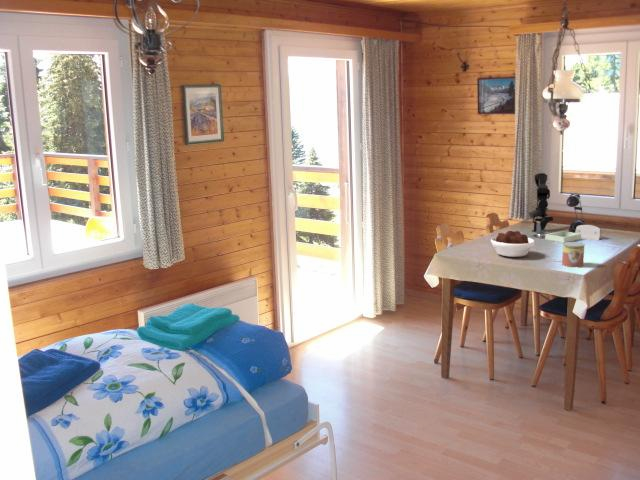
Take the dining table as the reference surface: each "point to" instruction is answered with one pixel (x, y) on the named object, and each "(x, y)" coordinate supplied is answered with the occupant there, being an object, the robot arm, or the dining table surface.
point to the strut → (539, 228)
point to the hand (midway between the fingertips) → (540, 229)
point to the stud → (539, 236)
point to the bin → (563, 237)
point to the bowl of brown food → (512, 244)
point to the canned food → (573, 254)
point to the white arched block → (589, 232)
